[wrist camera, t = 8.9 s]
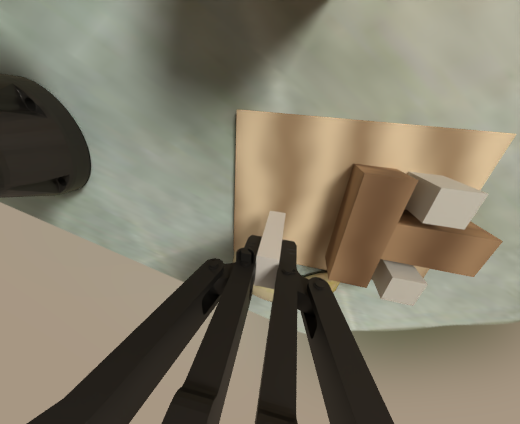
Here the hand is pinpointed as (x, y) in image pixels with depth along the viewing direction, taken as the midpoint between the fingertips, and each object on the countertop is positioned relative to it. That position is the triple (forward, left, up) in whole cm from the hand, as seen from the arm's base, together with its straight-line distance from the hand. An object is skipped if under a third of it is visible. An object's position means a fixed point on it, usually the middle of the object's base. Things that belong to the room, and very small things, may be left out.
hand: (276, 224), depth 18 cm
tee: (+13, 0, -5) cm, 13 cm away
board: (+6, +1, -6) cm, 9 cm away
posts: (+13, 0, -5) cm, 14 cm away
